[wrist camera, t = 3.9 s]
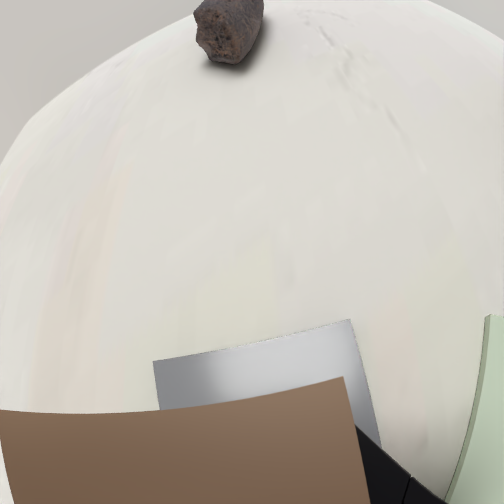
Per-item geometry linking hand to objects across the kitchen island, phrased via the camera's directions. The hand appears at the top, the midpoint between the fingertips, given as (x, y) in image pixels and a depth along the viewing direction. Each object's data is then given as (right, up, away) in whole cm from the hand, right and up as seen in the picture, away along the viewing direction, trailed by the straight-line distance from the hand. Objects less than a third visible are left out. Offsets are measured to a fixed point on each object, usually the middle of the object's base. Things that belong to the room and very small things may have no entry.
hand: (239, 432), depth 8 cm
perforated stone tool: (-1, +27, +20) cm, 34 cm away
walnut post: (+1, -4, +5) cm, 6 cm away
